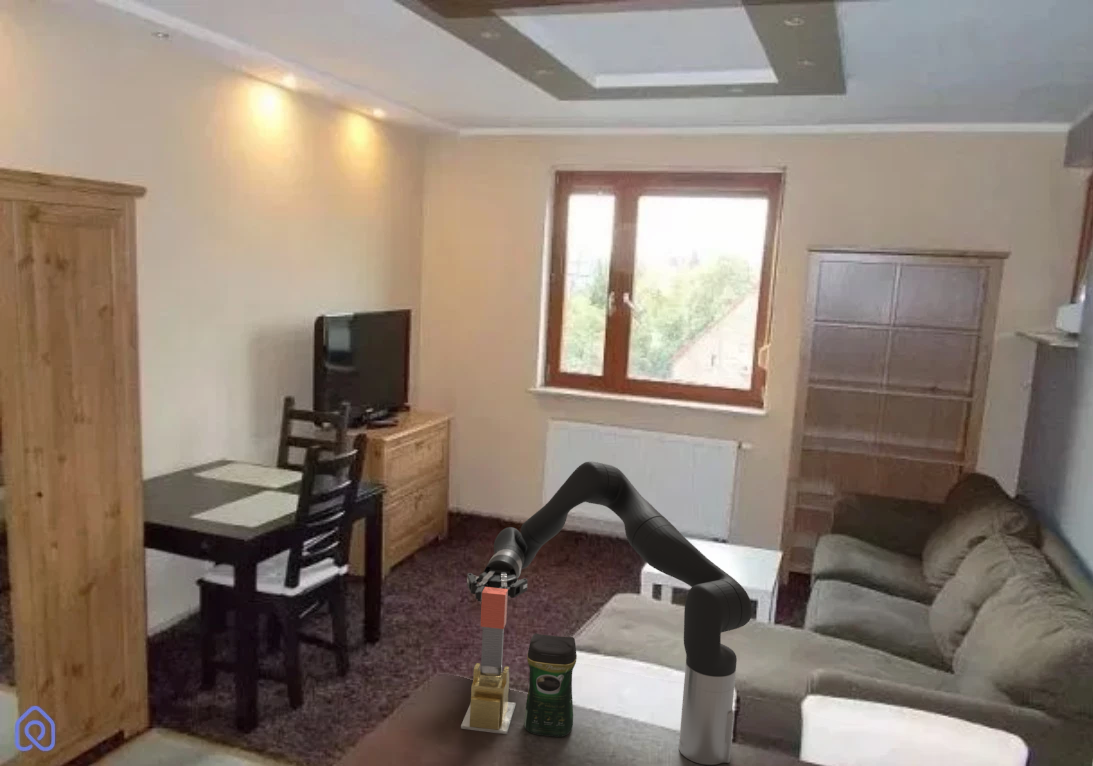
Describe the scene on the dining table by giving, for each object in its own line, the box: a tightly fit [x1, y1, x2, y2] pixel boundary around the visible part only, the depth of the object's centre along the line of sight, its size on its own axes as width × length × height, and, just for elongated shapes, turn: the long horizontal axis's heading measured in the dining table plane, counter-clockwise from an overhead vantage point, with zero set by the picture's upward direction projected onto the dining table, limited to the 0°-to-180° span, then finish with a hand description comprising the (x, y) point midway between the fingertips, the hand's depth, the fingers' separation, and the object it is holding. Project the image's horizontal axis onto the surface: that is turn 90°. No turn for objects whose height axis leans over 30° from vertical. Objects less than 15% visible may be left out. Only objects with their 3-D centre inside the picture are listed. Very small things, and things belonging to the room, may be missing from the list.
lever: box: [480, 587, 508, 677], centre depth 161 cm, size 5×3×18 cm, turn 83°
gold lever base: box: [460, 662, 517, 735], centre depth 163 cm, size 9×11×10 cm
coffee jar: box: [523, 633, 578, 738], centre depth 159 cm, size 10×8×19 cm
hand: (488, 597), depth 168 cm, fingers open, 3 cm apart
